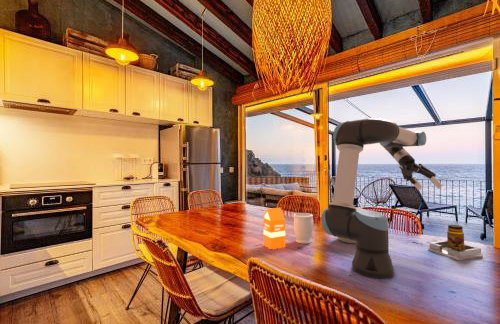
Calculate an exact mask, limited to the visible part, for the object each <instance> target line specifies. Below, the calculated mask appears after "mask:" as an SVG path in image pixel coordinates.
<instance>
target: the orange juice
mask: <svg viewBox="0 0 500 324" xmlns="http://www.w3.org/2000/svg"><path fill="white" fill-rule="evenodd" d="M264 245H265V246H264ZM263 246H264V247H266V248H267V247H268V249H269V250H270V249H273V250H276V249H277V248H278V249H282V247H283V248H286V218H285V216H284V213H283V210H282V207H273V208H266V211H265V214H264V216H263ZM278 249H277V250H278Z"/></svg>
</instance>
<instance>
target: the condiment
mask: <svg viewBox="0 0 500 324" xmlns="http://www.w3.org/2000/svg"><path fill="white" fill-rule="evenodd" d="M463 228H464V227H463V226H462V225H459V224H448V225H447V231H446V234H447V235H446V240H447V243H448V244H447V245H448V248H451V249H454V250H458V251H460V250H464V244H465V233H464V232H463ZM448 248H442V249H444V250H446V251H448Z"/></svg>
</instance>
